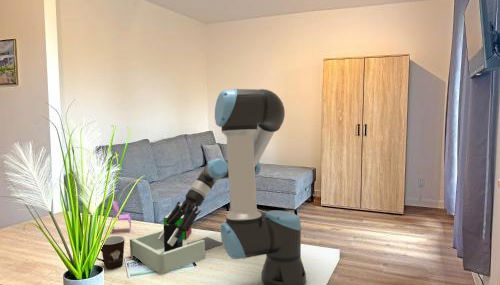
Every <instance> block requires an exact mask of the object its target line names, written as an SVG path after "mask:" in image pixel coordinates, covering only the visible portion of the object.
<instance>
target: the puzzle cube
mask: <svg viewBox="0 0 500 285" xmlns="http://www.w3.org/2000/svg"><path fill="white" fill-rule="evenodd" d="M171 212H172V211H170V212H169V213H168V214H166V215H165V216H164V217H163V226H164V225H167V223H166V222H165V221H166V219H167V218H168V216H169V215H170V214H171ZM183 216H184V215H183ZM183 216H182V217H181V218H180V219H179V220H178V221H177V222H176V223H175V224H174V225H176V224H177V226H180V224H181V221H182V219H183ZM192 232H193V231H192V226H191V227H190V228H189V230H188V231H187V232H186V231H184V232H182V233H183V241H186V240H187V239H188V238H189V236H190V235H191V234H192Z"/></svg>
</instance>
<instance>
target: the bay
mask: <svg viewBox="0 0 500 285" xmlns="http://www.w3.org/2000/svg"><path fill="white" fill-rule="evenodd" d="M163 230H164V229H161V230H158V231H153V232H150V233H147V234H144V235H143V234H142V235H140V236H136V237H133V238H130V239H129V249H130V257H131V258H133V256H135V257H136V258H138V259H139V260H140V261H141V262H142V263H141V262H140V263H141V264H142V265H145V266H146V267H148V268H150V269H151V270H153V271H154V272H157V274H160V275H165V274H167V273H170V272H172V271H175V270H177V269H180V268H182V267H185V266H188V265H191V264H193V263H196V262H198V261H201V260H203V259H205V258H206V250H205V241H204V240H200V239H199V240H200V241H197V242H194V243H191V244H186V245H183V246H182V247H179V248H176V249H173V250H170V251H167V252H164V251H163V252H161V251H159V249H164V242H162V241H161V240H160V239H158V238H159V236H160V235H161V233H162V232H163Z"/></svg>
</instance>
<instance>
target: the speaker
mask: <svg viewBox="0 0 500 285" xmlns="http://www.w3.org/2000/svg"><path fill="white" fill-rule="evenodd" d="M176 228H178V226H177V224H176V225H164V224H163V230H164V247H163V250H164V251H163V253H164V252H167V251H170V250H173V249H176V248H179V247H182V246H184V244H183V241H184V240H183V233H182V234H181V235H180V237H179V238H178V239H177V241H176V242H175V244H174V245H173V246H171V245H170V244H168V243H167V242H168V241H169V239H170V237H171V236H172V234H173V233H174V231H175V230H176ZM178 229H179V228H178Z"/></svg>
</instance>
